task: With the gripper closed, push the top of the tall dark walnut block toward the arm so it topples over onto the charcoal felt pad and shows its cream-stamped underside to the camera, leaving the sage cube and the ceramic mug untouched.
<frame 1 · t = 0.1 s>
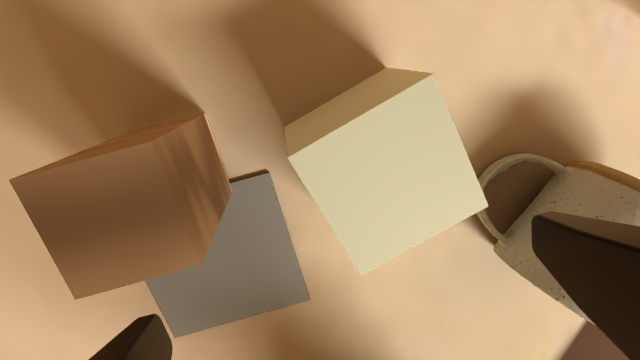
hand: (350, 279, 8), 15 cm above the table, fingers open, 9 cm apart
ceramic mug: (527, 208, 26), on the table
walnut block: (179, 164, 22), on the table, touching felt pad
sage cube: (360, 146, 23), on the table
felt pad: (219, 259, 24), on the table
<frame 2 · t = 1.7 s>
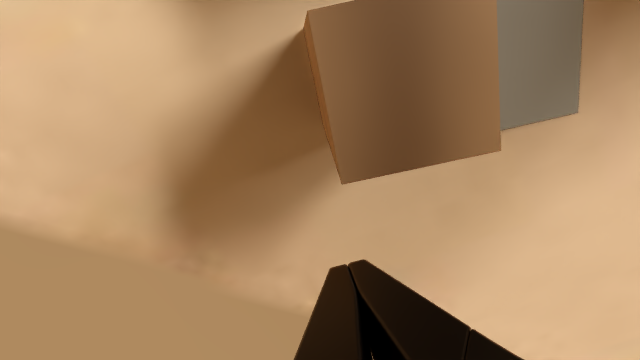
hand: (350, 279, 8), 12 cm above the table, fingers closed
walnut block: (360, 68, 19), on the table, touching felt pad
felt pad: (489, 40, 19), on the table
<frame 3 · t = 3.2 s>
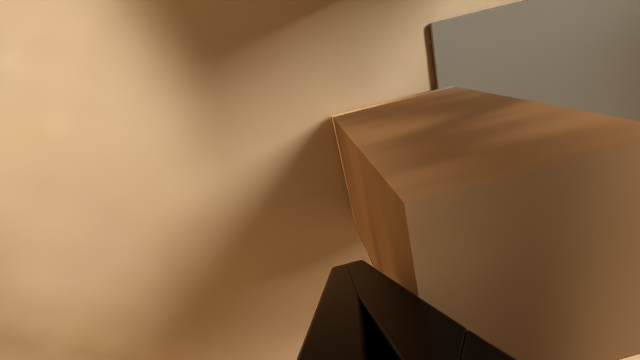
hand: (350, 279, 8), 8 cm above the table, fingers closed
walnut block: (400, 158, 15), on the table, touching felt pad, gripper
felt pad: (552, 118, 16), on the table
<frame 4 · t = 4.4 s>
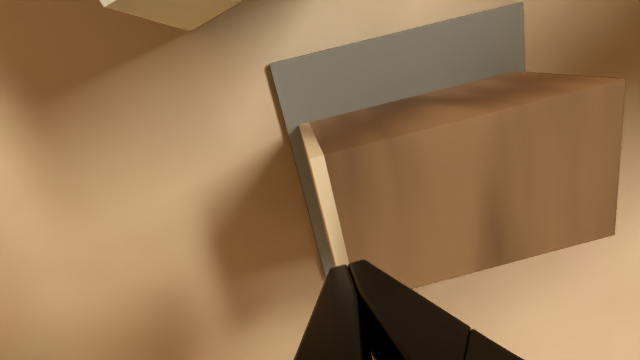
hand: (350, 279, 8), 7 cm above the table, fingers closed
walnut block: (319, 205, 13), point 3 cm above the table, tilted 90°, touching felt pad
felt pad: (413, 154, 15), on the table
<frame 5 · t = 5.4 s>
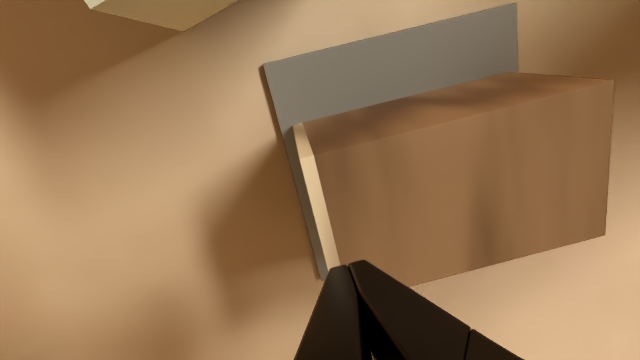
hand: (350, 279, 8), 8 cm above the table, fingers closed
walnut block: (312, 204, 13), point 3 cm above the table, tilted 90°, touching felt pad
felt pad: (407, 154, 16), on the table
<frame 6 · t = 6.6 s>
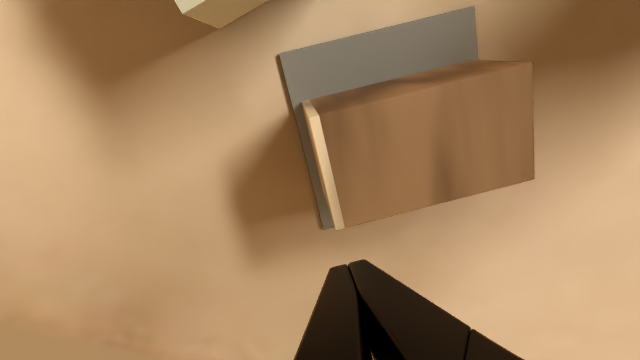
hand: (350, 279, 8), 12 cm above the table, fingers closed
walnut block: (317, 160, 17), point 3 cm above the table, tilted 90°, touching felt pad
felt pad: (391, 126, 20), on the table
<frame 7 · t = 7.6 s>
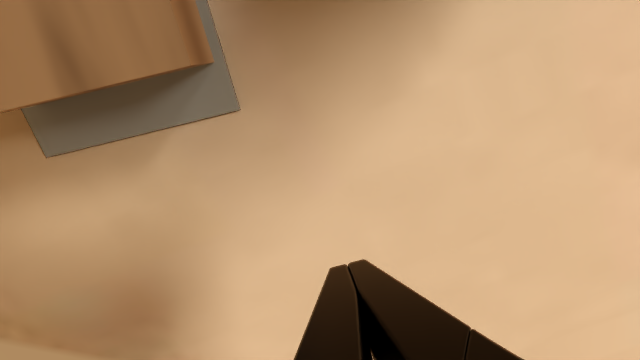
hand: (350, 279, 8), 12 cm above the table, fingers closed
felt pad: (103, 29, 17), on the table
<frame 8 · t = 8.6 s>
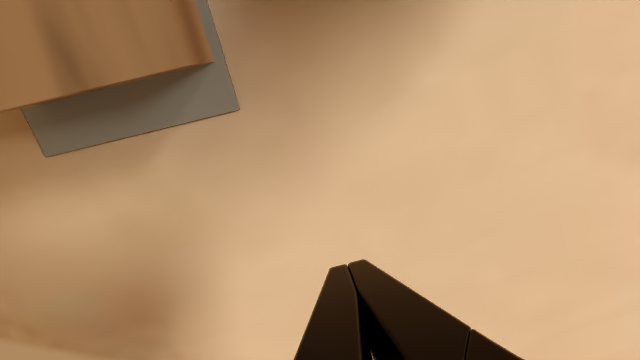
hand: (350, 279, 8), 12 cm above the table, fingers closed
felt pad: (102, 29, 17), on the table
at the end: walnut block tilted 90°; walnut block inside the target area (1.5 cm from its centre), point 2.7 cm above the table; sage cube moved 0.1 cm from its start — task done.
